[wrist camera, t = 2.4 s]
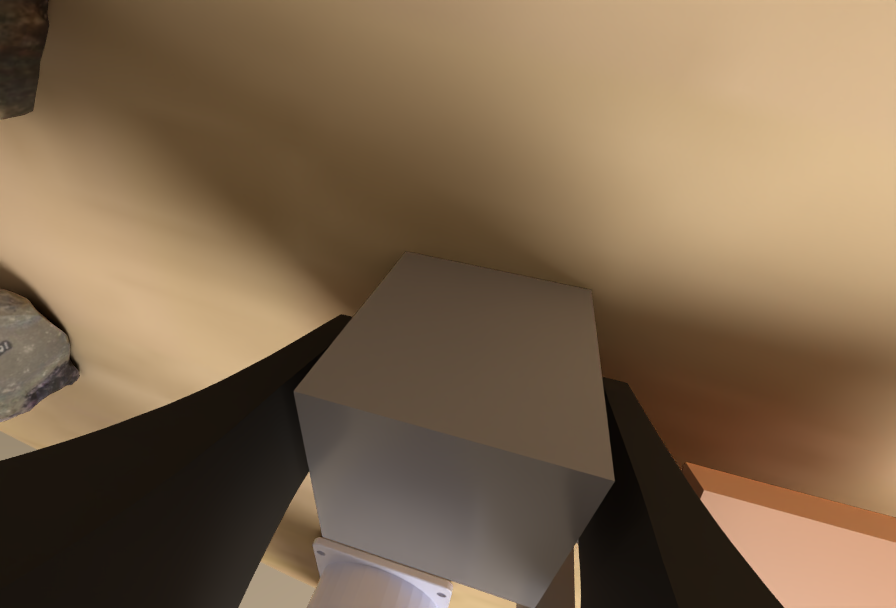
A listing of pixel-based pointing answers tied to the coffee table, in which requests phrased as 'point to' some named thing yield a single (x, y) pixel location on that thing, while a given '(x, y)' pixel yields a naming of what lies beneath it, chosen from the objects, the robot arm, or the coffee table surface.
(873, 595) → the trapdoor
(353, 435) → the gray cube
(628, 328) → the coffee table surface
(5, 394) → the mineral rock
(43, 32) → the stone block
